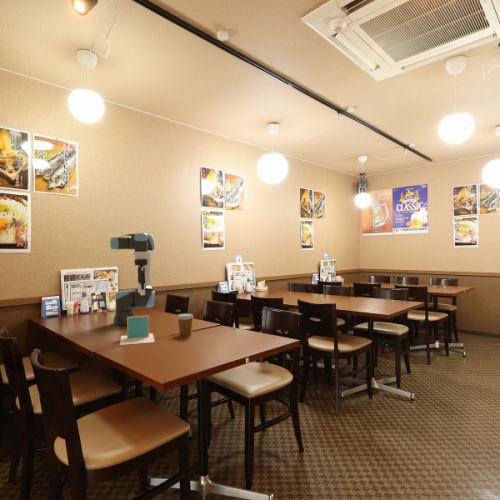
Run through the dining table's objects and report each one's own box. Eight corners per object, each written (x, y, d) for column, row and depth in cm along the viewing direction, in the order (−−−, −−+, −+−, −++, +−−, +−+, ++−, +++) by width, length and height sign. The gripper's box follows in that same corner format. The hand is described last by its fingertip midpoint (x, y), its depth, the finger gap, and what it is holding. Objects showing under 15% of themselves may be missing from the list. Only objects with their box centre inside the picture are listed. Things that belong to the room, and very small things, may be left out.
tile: (127, 337, 202) (127, 316, 202) (148, 335, 206) (148, 315, 206) (127, 338, 200) (127, 317, 200) (149, 336, 204) (148, 316, 204)
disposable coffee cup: (190, 336, 205) (189, 316, 205) (174, 336, 207) (174, 316, 207) (195, 333, 214) (195, 313, 214) (181, 332, 216) (180, 313, 216)
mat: (121, 336, 207) (121, 335, 207) (152, 334, 212) (152, 333, 212) (119, 346, 186) (119, 344, 186) (154, 342, 191) (154, 341, 191)
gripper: (133, 258, 222) (133, 292, 222) (136, 259, 199) (136, 296, 199) (145, 258, 225) (145, 291, 225) (150, 258, 202) (150, 295, 202)
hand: (141, 293), depth 212 cm, fingers open, 13 cm apart
